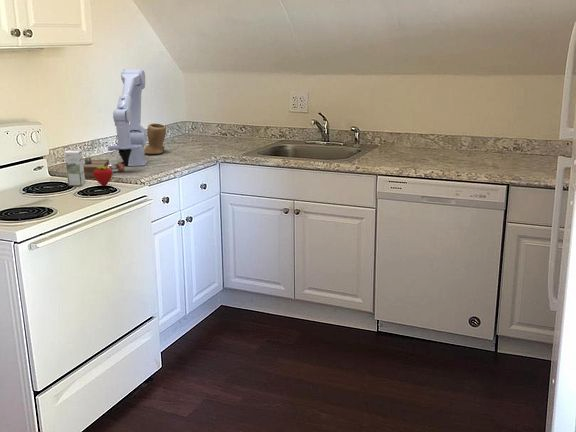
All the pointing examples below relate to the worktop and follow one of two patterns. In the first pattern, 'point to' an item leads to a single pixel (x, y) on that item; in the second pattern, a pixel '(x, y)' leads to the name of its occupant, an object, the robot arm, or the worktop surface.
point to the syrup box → (74, 167)
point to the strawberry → (102, 175)
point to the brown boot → (155, 138)
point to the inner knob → (118, 166)
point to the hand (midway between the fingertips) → (126, 166)
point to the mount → (93, 167)
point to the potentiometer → (88, 159)
